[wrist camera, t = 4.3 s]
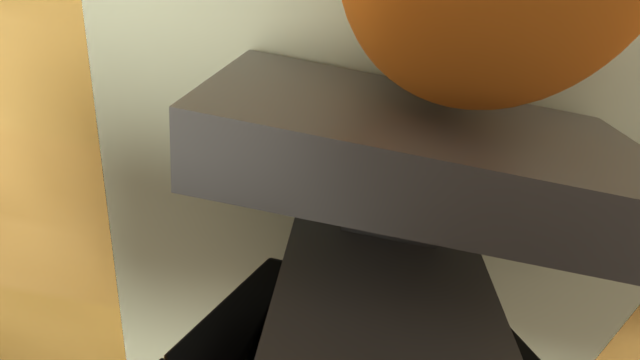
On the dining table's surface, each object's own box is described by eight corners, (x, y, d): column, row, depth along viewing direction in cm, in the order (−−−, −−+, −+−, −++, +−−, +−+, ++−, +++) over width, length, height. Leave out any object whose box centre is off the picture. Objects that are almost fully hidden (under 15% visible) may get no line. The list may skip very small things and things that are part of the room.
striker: (471, 347, 11) (566, 689, 6) (230, 299, 11) (110, 594, 6) (598, 117, 8) (1101, 446, 2) (249, 49, 8) (1, 224, 2)
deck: (469, 445, 17) (481, 500, 15) (158, 382, 17) (135, 428, 16) (892, -178, 7) (1071, -227, 5) (113, -324, 7) (29, -421, 5)
